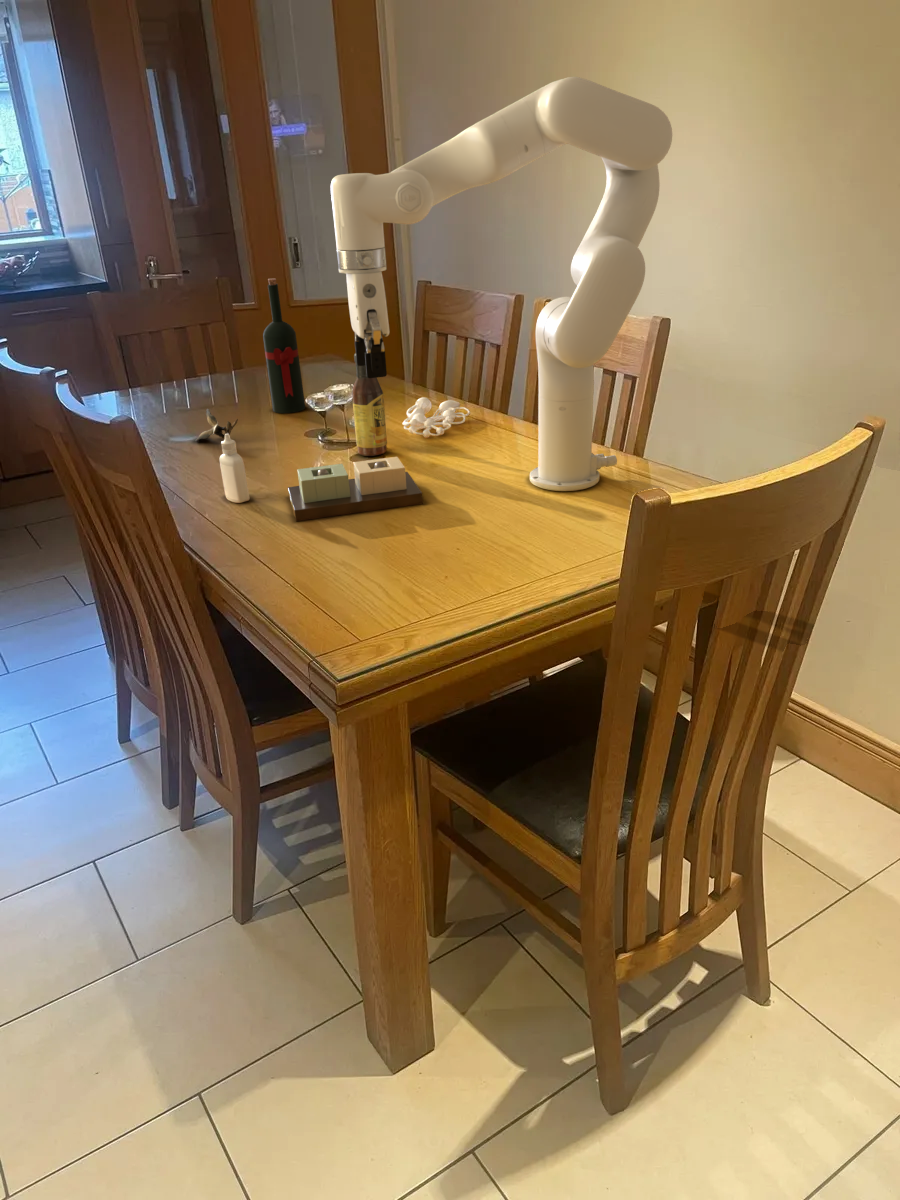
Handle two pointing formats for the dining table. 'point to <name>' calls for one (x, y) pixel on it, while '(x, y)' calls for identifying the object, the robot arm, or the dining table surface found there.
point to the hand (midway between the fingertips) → (371, 370)
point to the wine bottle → (282, 359)
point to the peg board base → (354, 500)
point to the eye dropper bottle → (233, 472)
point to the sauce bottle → (369, 414)
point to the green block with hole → (323, 483)
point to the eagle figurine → (215, 427)
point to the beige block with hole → (379, 476)
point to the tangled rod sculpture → (422, 422)
